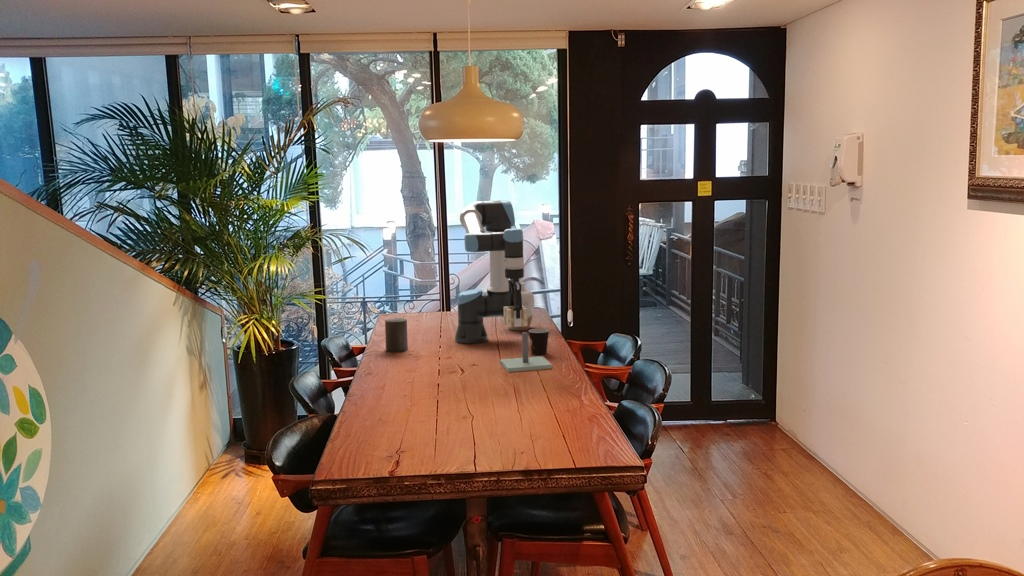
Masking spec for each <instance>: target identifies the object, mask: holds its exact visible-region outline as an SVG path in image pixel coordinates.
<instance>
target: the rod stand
mask: <svg viewBox="0 0 1024 576" xmlns="http://www.w3.org/2000/svg"><path fill="white" fill-rule="evenodd" d="M521 342H522V343H521V349H522V350H521V353H522V355H521V357H514V358H503V359H501V358H500V359H499V363H500V365H501V364H502V365H501V366H502V367H503V368H504V369H505V371H506V372H508V373H511V372H523V371H536V370H537V371H538V370H548V369H549V370H550V369H553V364H552V363H551V362H550V361H549V360H548V359H547V358H546V357H544V355H536V356H529V332H525V331H524V332H521Z"/></svg>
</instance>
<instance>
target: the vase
mask: <svg viewBox="0 0 1024 576" xmlns="http://www.w3.org/2000/svg"><path fill="white" fill-rule="evenodd" d="M519 283H520V284H521V297H522V305H523V306H524V307H525V308H527V323H528V326H523V327H508V329H509V330H510V331H517V332H518V331H527V330H530V329H529V328H530V326H531V324H532V322H533V316H534V311H535V297H534V294H533V292H532V291H531V290H529V289H527V288H525V285H526V282H523V281H522V282H521V281H519Z"/></svg>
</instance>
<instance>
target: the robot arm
mask: <svg viewBox="0 0 1024 576" xmlns="http://www.w3.org/2000/svg"><path fill="white" fill-rule="evenodd" d="M459 221H460V224H461V226H462V227H463V229H464V230H465V233H466V234H465V235H464V249H465V252H467V253H483V252H489V285H488V286H487V287H486V291H485V292H483V289H480V288H477V289H476V288H475V289H469V290H464V291H462V292H460V293H458V294H457V301H456V302H457V303H456V305H457V328H456V331H455V335H454V341H455V342H456V343H459V344H480V343H483V342H486V341H487V342H488V338H489V337H488V333H487V329H486V327H485V325H484V318H497V317H499V318H500V317H502V318H504V307H506V306H514V309H513V311H514V327H518V326H521V309H522V297H521V284H520V283H519V282H520V279H524V277H525V270H524V265H525V262H524V234H523V229H522V228H512V227H514V226H515V225H516V218H515V212H514V207H513V204H512V202H511V201H510V200H502V199H500V200H499V199H498V200H482V201H481V200H479V201H478V200H477V201H473V202H471V203H469V204H468V205H465V207H464V208H463V209H462V210H461V212H460V215H459ZM517 306H519V307H517Z"/></svg>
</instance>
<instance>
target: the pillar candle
mask: <svg viewBox="0 0 1024 576" xmlns="http://www.w3.org/2000/svg"><path fill="white" fill-rule="evenodd" d="M384 322H385V323H384V327H385V329H384V331H385V332H384V334H385V335H384V336H385V351H386V352H387V353H388V352H389V353H400V352H401V353H402V352H405V351H408V348H409V347H408V346H409V345H408V344H409V343H408V342H409V341H408V321H407V318H404V317H403V318H402V317H396V316H394V317H393V318H392V317H391V318H387V319H385V320H384Z"/></svg>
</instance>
